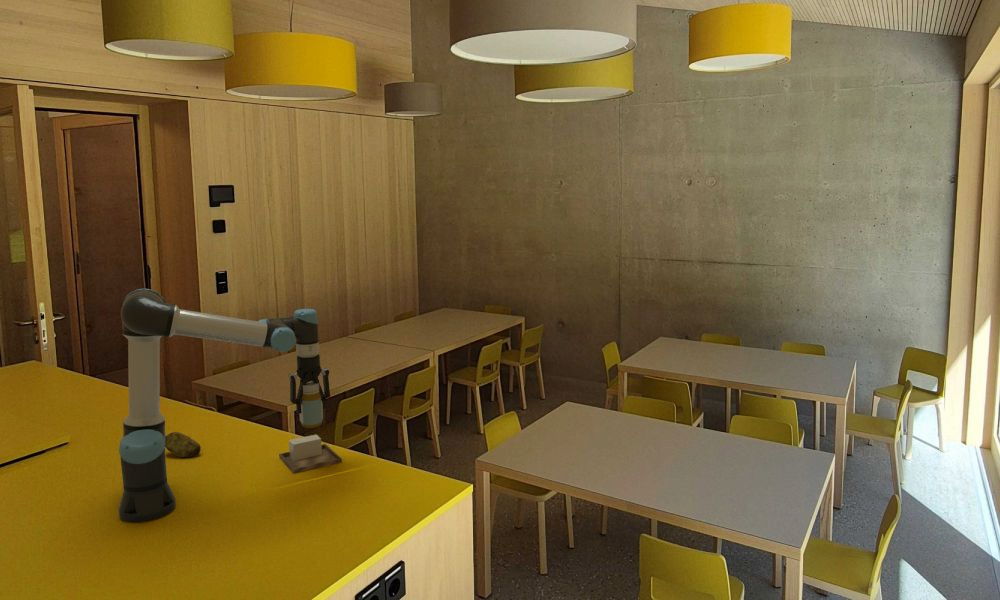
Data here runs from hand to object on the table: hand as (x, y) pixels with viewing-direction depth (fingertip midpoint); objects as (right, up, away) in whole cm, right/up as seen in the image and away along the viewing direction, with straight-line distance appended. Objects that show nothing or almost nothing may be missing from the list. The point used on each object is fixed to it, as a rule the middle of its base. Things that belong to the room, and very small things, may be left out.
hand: (311, 419), depth 237 cm
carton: (-5, -14, +9) cm, 17 cm away
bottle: (0, -2, 0) cm, 2 cm away
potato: (-49, -15, +11) cm, 53 cm away
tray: (-2, -16, +5) cm, 17 cm away
